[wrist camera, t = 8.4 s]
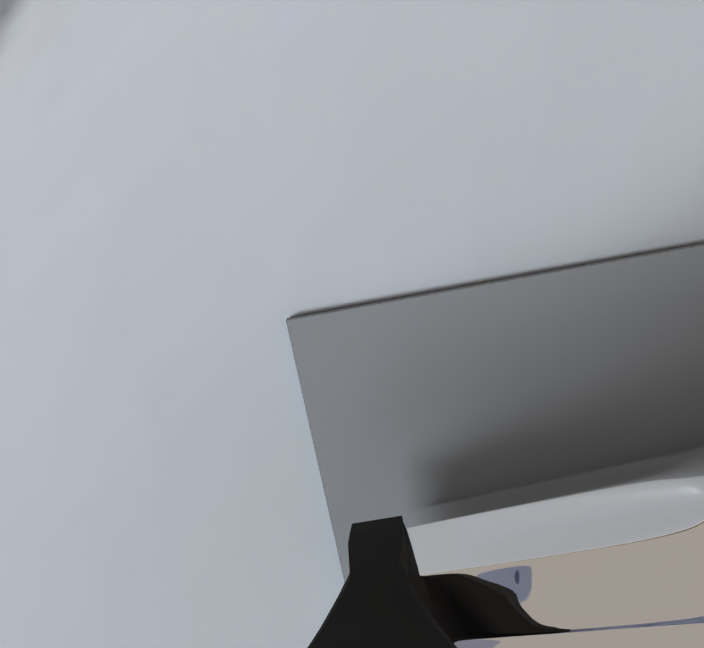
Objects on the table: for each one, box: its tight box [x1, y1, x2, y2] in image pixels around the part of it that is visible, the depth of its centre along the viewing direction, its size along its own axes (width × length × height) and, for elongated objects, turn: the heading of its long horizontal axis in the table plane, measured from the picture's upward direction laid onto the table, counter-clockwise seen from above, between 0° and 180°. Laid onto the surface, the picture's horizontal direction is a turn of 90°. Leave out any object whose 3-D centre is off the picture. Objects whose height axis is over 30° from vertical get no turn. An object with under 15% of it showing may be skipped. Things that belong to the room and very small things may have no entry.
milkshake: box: [403, 446, 704, 648], centre depth 11 cm, size 4×5×10 cm
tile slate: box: [286, 243, 704, 581], centre depth 14 cm, size 11×10×1 cm
